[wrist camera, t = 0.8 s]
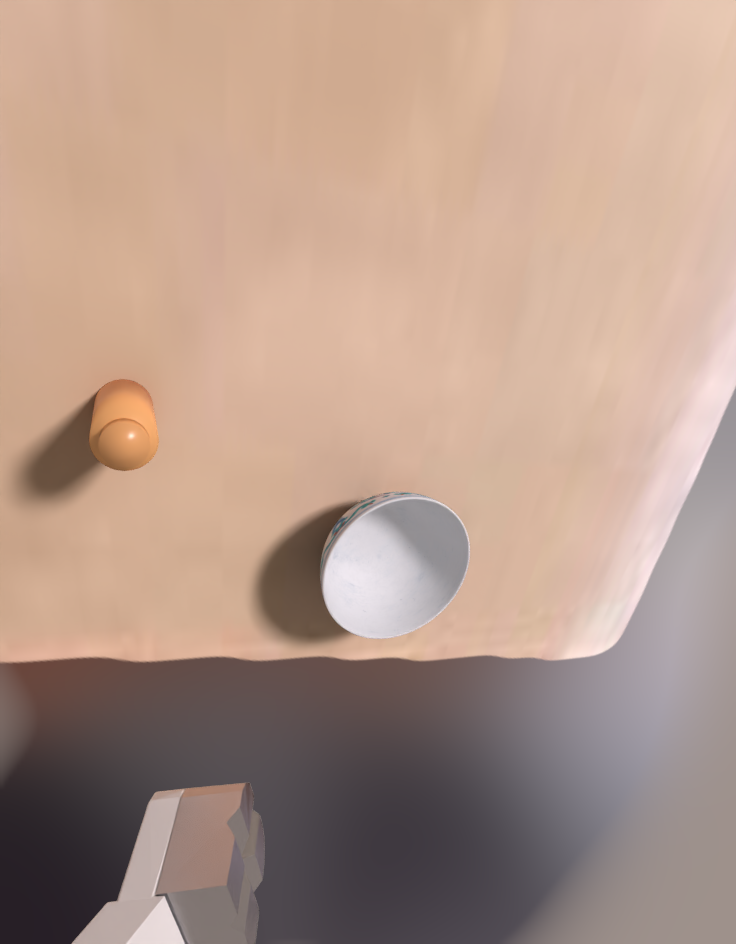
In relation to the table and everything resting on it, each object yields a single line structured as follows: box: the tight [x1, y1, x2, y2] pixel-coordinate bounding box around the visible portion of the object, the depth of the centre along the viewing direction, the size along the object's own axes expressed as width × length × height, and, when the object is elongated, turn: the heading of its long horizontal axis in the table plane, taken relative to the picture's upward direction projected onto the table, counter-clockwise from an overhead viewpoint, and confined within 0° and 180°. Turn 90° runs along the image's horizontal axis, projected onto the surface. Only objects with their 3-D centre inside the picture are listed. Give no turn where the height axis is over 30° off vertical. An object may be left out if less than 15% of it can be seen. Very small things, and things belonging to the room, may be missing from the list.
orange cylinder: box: [89, 379, 159, 471], centre depth 44 cm, size 4×4×10 cm
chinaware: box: [320, 492, 470, 639], centre depth 58 cm, size 15×15×8 cm
